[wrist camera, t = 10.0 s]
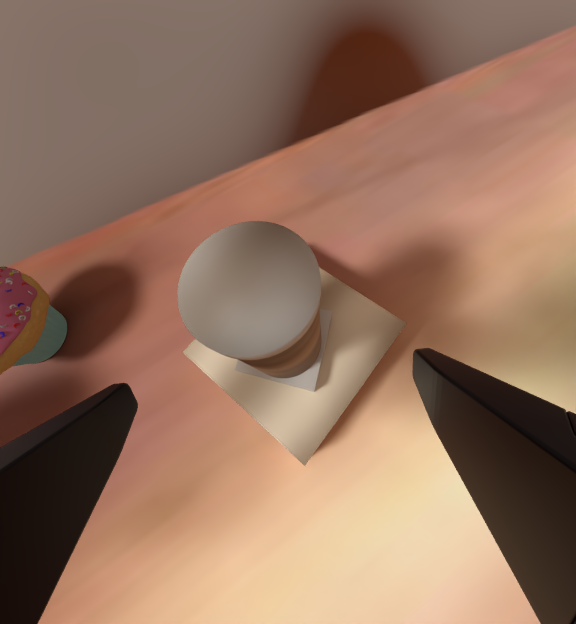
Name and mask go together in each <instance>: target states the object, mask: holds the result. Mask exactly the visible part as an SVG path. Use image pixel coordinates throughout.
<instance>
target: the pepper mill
mask: <svg viewBox="0 0 576 624" xmlns="http://www.w3.org/2000/svg"><path fill="white" fill-rule="evenodd" d="M177 297H178V306H179V311H180V315H181V317H182V320H183V322H184V324H185V326H186V327H187V329H188V330H189V332H190V333H191V334H192V335H193V336H194V337H195V338H196V339H197V340H198V341H199V342H200V343H202V344H203V345H204V346H206V347H207V348H209V349H211V350H213V351H215V352H218V353H220V354H222V355H224V356H227V357H230V358H234V359H238V362H237V365H236V368H235V371H238V372H241V373H245V374H249V375H253V376H256V377H260V378H264V379H268V380H272V381H275V382H279V383H283V384H287V385H290V386H294V387H298V388H302V389H306V390H309V391H313V392H315V389H316V385H317V380H318V376H319V371H320V367H321V362H322V358H323V353H324V349H325V344H326V340H327V335H328V331H329V327H330V322H331V318H332V311H328V310H323V309H320V308H319V306H320V300H321V276H320V269H319V265H318V262H317V259H316V257H315V255H314V253H313V251H312V250H311V248H310V247H309V245H308V244H307V243H306V242H305V241H304V240H303V239H302V238H301V237H300V236H299V235H298V234H296V233H295V232H293V231H292V230H290V229H288V228H286V227H284V226H281V225H278V224H275V223H270V222H263V221H249V222H242V223H238V224H234V225H231V226H228V227H226V228H223V229H221V230H219V231H217V232H216V233H214V234H213V235H211V236H210V237H208V238H207V239H206V240H205V241H203V242H202V243H201V244H200V245H199V246H198V247H197V248H196V249H195V251H194V252H193V253H192V254H191V256H190V257H189V259H188V261H187V262H186V264H185V266H184V268H183V270H182V273H181V276H180V280H179V285H178V295H177Z"/></svg>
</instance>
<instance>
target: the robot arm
mask: <svg viewBox="0 0 576 624" xmlns="http://www.w3.org/2000/svg"><path fill="white" fill-rule="evenodd" d="M413 378H414V381H415V384H416V386H417V389H418V391H419V394H420V396H421V399H422V401H423V403H424V406H425V408H426V411H427V413H428V416H429V418H430V420H431V423H432V425H433V427H434V429H435V431H436V433H437V435H438V437H439V439H440V440H441V442H442V444H443V446H444V448H445V450H446V451H447V453H448V455H449V457H450V459H451V461H452V462H453V464H454V466H455V468H456V470H457V472H458V473H459V475H460V477H461V479H462V481H463V482H464V484H465V486H466V488H467V490H468V492H469V493H470V495H471V497H472V499H473V501H474V503H475V504H476V506H477V508H478V510H479V512H480V514H481V515H482V517H483V519H484V521H485V523H486V524H487V526H488V528H489V530H490V532H491V534H492V535H493V537H494V539H495V541H496V543H497V545H498V546H499V548H500V550H501V552H502V554H503V556H504V557H505V559H506V561H507V563H508V565H509V566H510V568H511V570H512V572H513V574H514V576H515V577H516V579H517V581H518V583H519V585H520V587H521V588H522V590H523V592H524V594H525V596H526V598H527V599H528V601H529V603H530V605H531V607H532V608H533V610H534V612H535V614H536V616H537V618H538V619H539V621H540V623H541V624H576V414H575V413H572V412H570V411H568V412H566V410H565V409H563V408H561V407H559V406H557V405H554V404H552V403H550V402H548V401H546V400H543V399H541V398H539V397H537V396H534V395H532V394H530V393H528V392H526V391H523V390H521V389H519V388H517V387H515V386H512V385H510V384H508V383H506V382H503V381H501V380H499V379H497V378H495V377H492V376H490V375H488V374H486V373H483V372H481V371H479V370H477V369H475V368H472V367H470V366H468V365H466V364H463V363H461V362H459V361H457V360H455V359H452V358H450V357H448V356H446V355H443V354H441V353H439V352H437V351H435V350H432V349H430V348H424V349H416V350H415V351H414V353H413ZM137 408H138V403H137V400H136V398H135V396H134V394H133V392H132V390H131V388H130V386H129V385H128V384H127V383H119V384H113V385H111V386H109V387H107V388H105V389H103V390H102V391H100V392H98V393H96V394H95V395H93V396H91V397H89V398H87V399H86V400H84V401H82V402H80V403H79V404H77V405H75V406H73V407H71V408H70V409H68V410H66V411H64V412H63V413H61V414H59V415H57V416H55V417H54V418H52V419H50V420H48V421H47V422H45V423H43V424H41V425H39V426H38V427H36V428H34V429H32V430H31V431H29V432H27V433H25V434H23V435H22V436H20V437H18V438H16V439H15V440H13V441H11V442H9V443H7V444H6V445H4V446H2V447H0V624H38V622H39V620H40V618H41V616H42V614H43V612H44V610H45V608H46V606H47V604H48V602H49V600H50V598H51V596H52V594H53V592H54V589H55V587H56V585H57V583H58V581H59V579H60V577H61V575H62V573H63V571H64V569H65V567H66V565H67V563H68V561H69V559H70V557H71V555H72V553H73V551H74V548H75V546H76V544H77V542H78V540H79V538H80V536H81V534H82V532H83V530H84V528H85V526H86V524H87V522H88V520H89V518H90V516H91V514H92V512H93V510H94V508H95V505H96V503H97V501H98V499H99V497H100V495H101V493H102V491H103V489H104V487H105V485H106V483H107V481H108V479H109V477H110V475H111V473H112V471H113V469H114V467H115V465H116V462H117V460H118V458H119V456H120V454H121V451H122V449H123V446H124V443H125V441H126V438H127V436H128V433H129V430H130V428H131V425H132V422H133V420H134V417H135V415H136V412H137Z"/></svg>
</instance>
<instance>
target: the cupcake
mask: <svg viewBox="0 0 576 624" xmlns="http://www.w3.org/2000/svg"><path fill="white" fill-rule="evenodd" d="M49 303H50V298H49V296H48V294H47V293H46V292H45V291H44V290H43V289H42V287H41V286H40V285H39V284H38V283H37V282H36V281H35V280H34V279H33V278H31V277H30V276H28V275H26V274H23V273H21V272H20V271H18V270H15V269H12V268H7V267H0V374H2V373H3V372H4V371H6V370H7V369H9V368H10V367H12V366H17V365H24V364H34V363H39V362H42V361H45V360H47V359H48V358H50V357H51V356H53V355H54V354H55V353H56V352H57V351H58V350H59V349H60V347H61V346H62V344H63V342H64V340H65V338H66V334H67V322H66V320H65V318H64V316H63V315H62V314H61V313H59V312H58V311H57V310H55V309H54V308H53V307H52V306H51V305H50V304H49Z"/></svg>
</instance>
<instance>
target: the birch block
mask: <svg viewBox="0 0 576 624" xmlns="http://www.w3.org/2000/svg"><path fill="white" fill-rule="evenodd" d="M319 269H320V276H321V300H320V306H319V308H320V309H323V310H328V311H332V318H331V322H330V327H329V331H328V335H327V340H326V344H325V349H324V353H323V358H322V362H321V367H320V371H319V376H318V380H317V385H316V389H315V392H313V391H309V390H306V389H302V388H298V387H294V386H290V385H287V384H283V383H279V382H275V381H272V380H268V379H264V378H260V377H256V376H253V375H249V374H245V373H241V372H238V371H235V368H236V365H237V362H238V359H234V358H230V357H227V356H224V355H222V354H220V353H218V352H215V351H213V350H211V349H209V348H207V347H206V346H204V345H203V344H202V343H200V342H199V341H198V340H197V339H196V338H195V339H194V341H193V342H192V343H191V344H190V345H189V346H188V347H187V348H186V350H185V351H184V352H183V353H184V354H185V355H186V356H187V357H188V358H189V359H190V360H192V361H193V362H194V363H195V364H196V365H197V366H198V367H199V368H200V369H201V370H202V371H203V372H204V373H206V374H207V375H208V376H209V377H210V378H211V379H212V380H213V381H214V382H215V383H216V384H217V385H218V386H219V387H221V388H222V389H223V390H224V391H225V392H226V393H227V394H228V395H229V396H230V397H231V398H232V399H233V400H235V401H236V402H237V403H238V404H239V405H240V406H241V407H242V408H243V409H244V410H245V411H246V412H247V413H249V414H250V415H251V416H252V417H253V418H254V419H255V420H256V421H257V422H258V423H259V424H260V425H261V426H262V427H264V428H265V429H266V430H267V431H268V432H269V433H270V434H271V435H272V436H273V437H274V438H275V439H276V440H278V441H279V442H280V443H281V444H282V445H283V446H284V447H285V448H286V449H287V450H288V451H289V452H290V453H291V454H293V455H294V456H295V457H296V458H297V459H298V460H299V461H300V462H301V463H302V464H303V465H304V466H305V465H306V463H307V462H308V461H309V459H310V458H311V456H312V455H313V454H314V452H315V451H316V449H317V448H318V447H319V445H320V444H321V442H322V441H323V440H324V438H325V437H326V435H327V434H328V433H329V431H330V430H331V428H332V427H333V426H334V424H335V423H336V421H337V420H338V419H339V417H340V416H341V415H342V413H343V412H344V410H345V409H346V408H347V406H348V405H349V403H350V402H351V401H352V399H353V398H354V396H355V395H356V394H357V392H358V391H359V389H360V388H361V387H362V385H363V384H364V382H365V381H366V380H367V378H368V377H369V375H370V374H371V373H372V371H373V370H374V368H375V367H376V366H377V364H378V363H379V361H380V360H381V359H382V357H383V356H384V355H385V353H386V352H387V350H388V349H389V348H390V346H391V345H392V343H393V342H394V341H395V339H396V338H397V336H398V335H399V334H400V332H401V331H402V329H403V328H404V327H405V325H406V324H407V323H406V322H404V321H402V320H401V319H399V318H398V317H396V316H395V315H393V314H391V313H390V312H388V311H387V310H385V309H384V308H382V307H380V306H379V305H377V304H376V303H374V302H373V301H371V300H370V299H368V298H366V297H365V296H363V295H362V294H360V293H359V292H357V291H355V290H354V289H352V288H351V287H349V286H348V285H346V284H344V283H343V282H341V281H340V280H338V279H337V278H335V277H334V276H332V275H330V274H329V273H327V272H326V271H324V270H323V269H321V268H319Z"/></svg>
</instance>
